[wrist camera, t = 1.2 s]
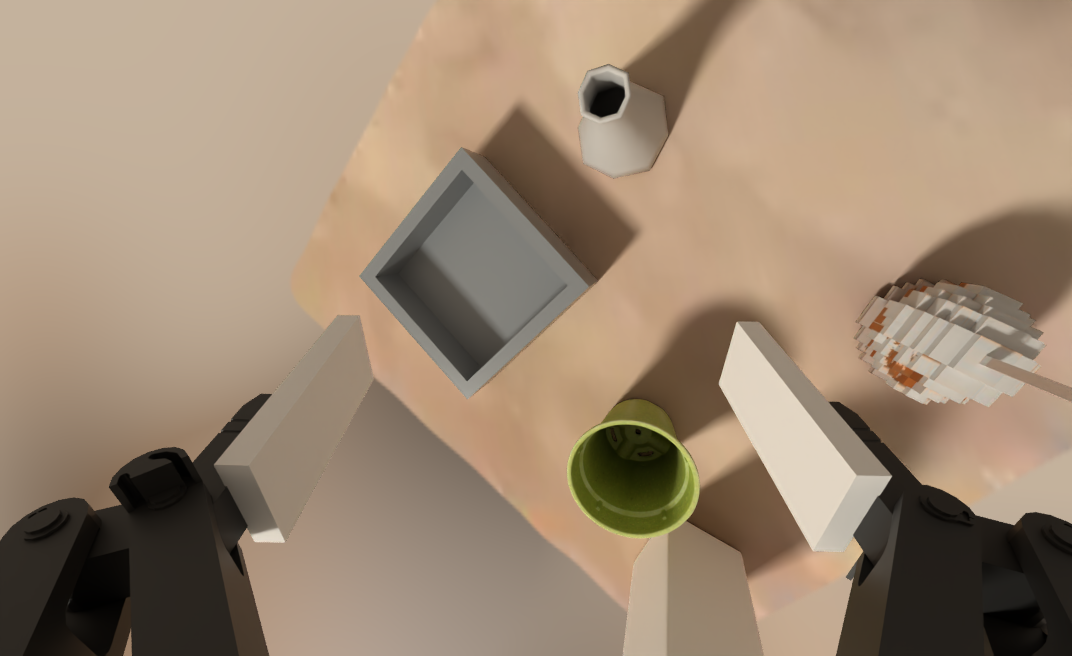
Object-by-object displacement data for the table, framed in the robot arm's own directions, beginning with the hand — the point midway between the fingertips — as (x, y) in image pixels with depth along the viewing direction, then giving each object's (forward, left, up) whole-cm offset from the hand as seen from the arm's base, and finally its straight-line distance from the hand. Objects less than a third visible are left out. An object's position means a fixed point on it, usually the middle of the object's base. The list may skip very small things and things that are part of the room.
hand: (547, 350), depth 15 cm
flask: (-8, -9, -23) cm, 26 cm away
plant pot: (+8, +11, -23) cm, 27 cm away
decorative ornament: (-13, +17, -23) cm, 32 cm away
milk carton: (+13, +23, -23) cm, 35 cm away
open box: (+9, -9, -23) cm, 26 cm away
